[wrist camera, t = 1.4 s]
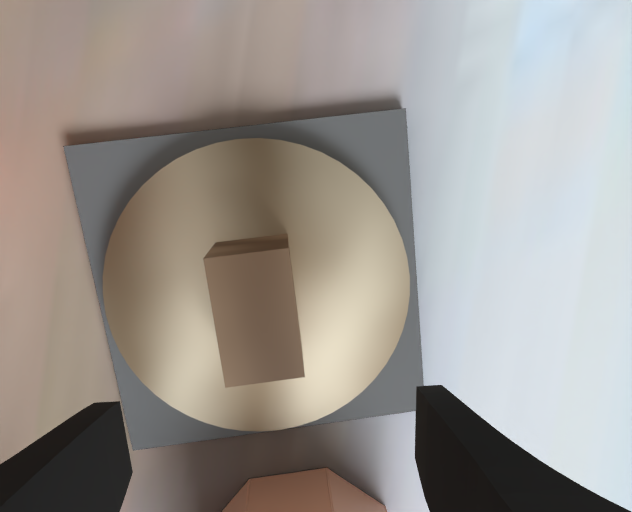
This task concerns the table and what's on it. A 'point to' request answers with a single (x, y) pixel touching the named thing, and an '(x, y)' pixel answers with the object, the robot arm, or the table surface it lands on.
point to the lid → (256, 284)
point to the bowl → (302, 494)
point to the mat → (319, 134)
